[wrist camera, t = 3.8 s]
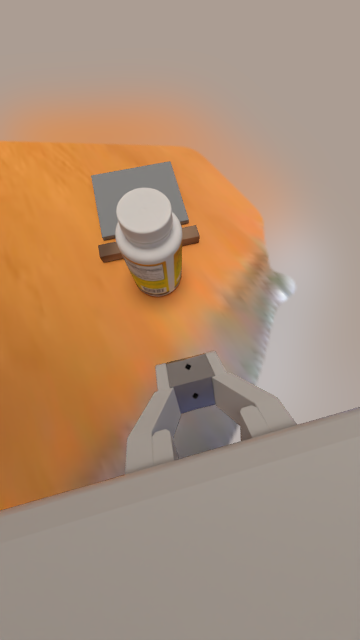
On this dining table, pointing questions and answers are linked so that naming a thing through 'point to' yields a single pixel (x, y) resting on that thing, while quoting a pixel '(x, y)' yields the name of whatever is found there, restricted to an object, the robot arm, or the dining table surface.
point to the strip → (113, 253)
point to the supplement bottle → (150, 240)
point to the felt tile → (121, 182)
